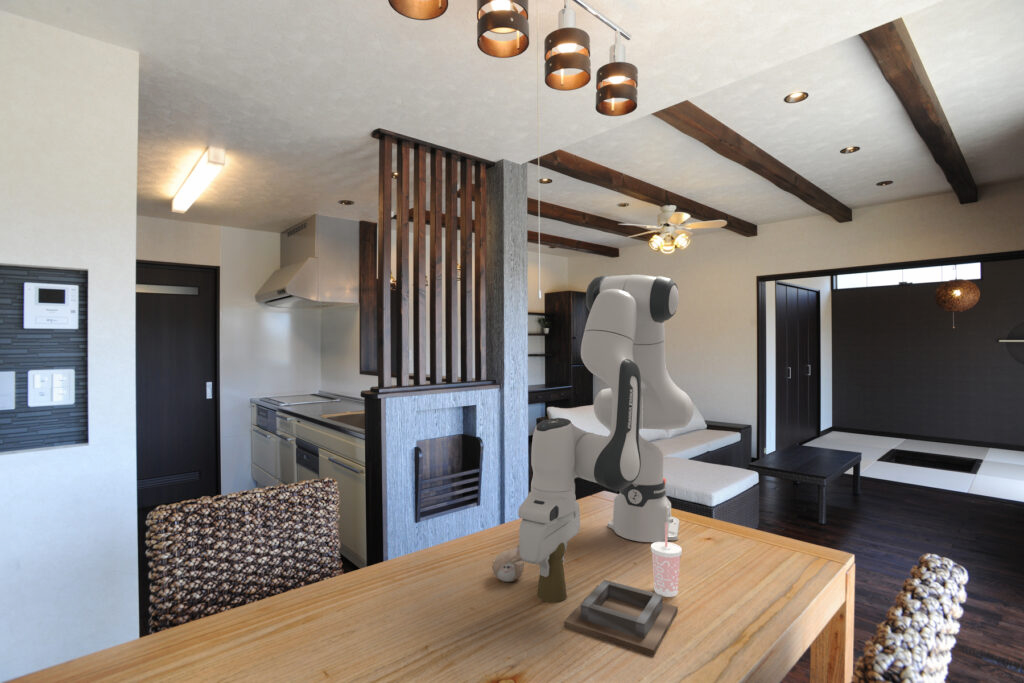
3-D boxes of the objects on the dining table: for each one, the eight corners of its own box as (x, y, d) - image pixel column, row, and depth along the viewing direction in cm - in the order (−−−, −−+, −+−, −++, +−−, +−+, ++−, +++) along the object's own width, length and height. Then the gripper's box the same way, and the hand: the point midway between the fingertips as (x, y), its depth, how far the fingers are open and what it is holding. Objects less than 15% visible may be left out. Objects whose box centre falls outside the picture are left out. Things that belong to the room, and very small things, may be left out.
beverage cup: (644, 588, 104) (644, 520, 104) (664, 581, 107) (664, 515, 107) (667, 601, 98) (668, 530, 99) (688, 593, 102) (688, 524, 102)
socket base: (597, 589, 103) (598, 572, 103) (677, 612, 95) (677, 593, 95) (564, 626, 89) (564, 606, 89) (653, 656, 81) (653, 634, 81)
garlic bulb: (514, 589, 103) (514, 550, 103) (487, 582, 106) (487, 544, 106) (528, 576, 109) (528, 539, 109) (502, 570, 112) (502, 534, 112)
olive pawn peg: (565, 604, 97) (566, 547, 97) (534, 600, 98) (535, 544, 98) (568, 589, 103) (568, 535, 103) (539, 586, 104) (539, 533, 104)
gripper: (561, 485, 111) (560, 548, 111) (513, 511, 94) (512, 585, 94) (587, 490, 108) (587, 554, 108) (543, 517, 91) (542, 594, 91)
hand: (552, 569), depth 101 cm, fingers closed on olive pawn peg, 4 cm apart
